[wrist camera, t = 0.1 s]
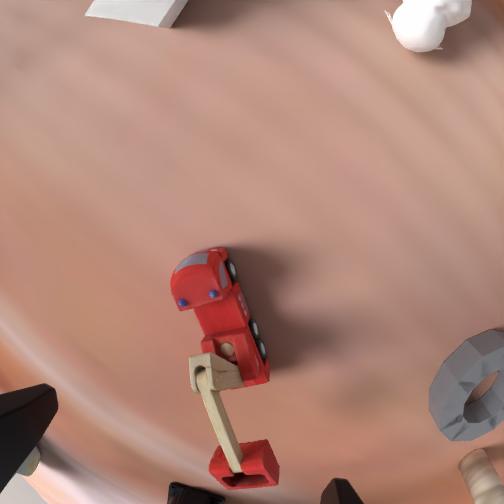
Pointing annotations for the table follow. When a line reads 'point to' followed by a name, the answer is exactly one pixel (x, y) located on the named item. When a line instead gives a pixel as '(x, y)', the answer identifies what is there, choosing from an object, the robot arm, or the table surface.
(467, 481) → the birch peg
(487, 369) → the grey ring
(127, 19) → the figurine
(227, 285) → the toy fire truck
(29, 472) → the air freshener
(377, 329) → the table surface
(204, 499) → the robot arm
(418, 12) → the white animal statue
